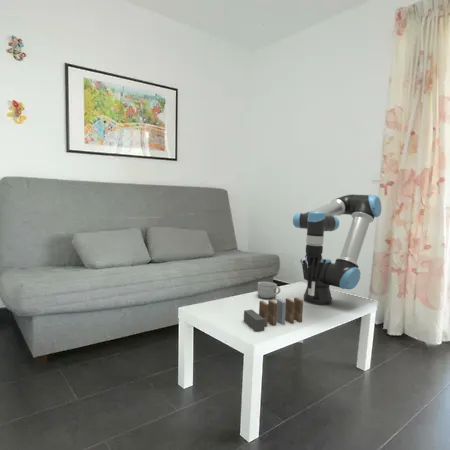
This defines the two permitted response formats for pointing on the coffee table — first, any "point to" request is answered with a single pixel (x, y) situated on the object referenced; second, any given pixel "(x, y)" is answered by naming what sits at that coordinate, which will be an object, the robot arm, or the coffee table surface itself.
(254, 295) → the coffee table surface
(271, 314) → the domino
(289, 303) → the domino
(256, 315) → the block
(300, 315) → the domino
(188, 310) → the coffee table surface
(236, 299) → the coffee table surface
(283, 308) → the domino
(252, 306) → the coffee table surface
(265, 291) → the teacup
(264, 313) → the domino
